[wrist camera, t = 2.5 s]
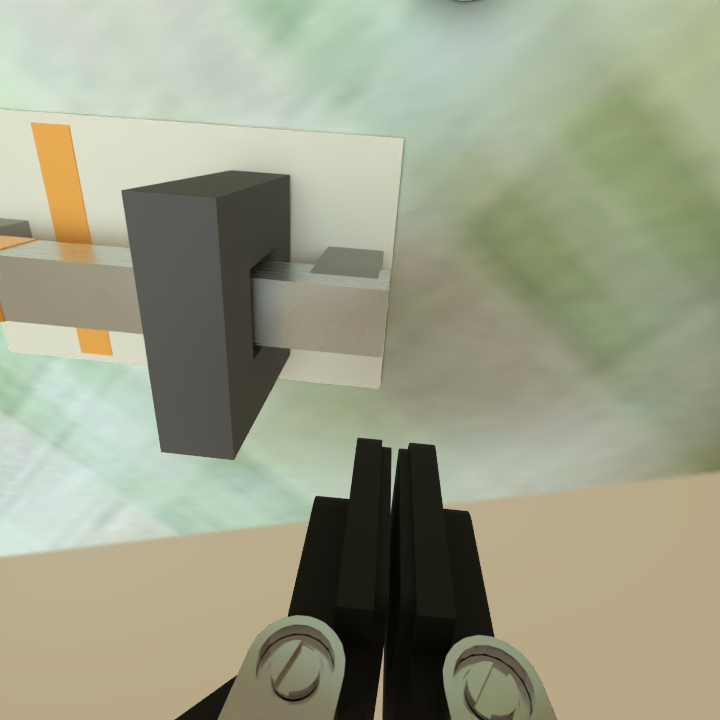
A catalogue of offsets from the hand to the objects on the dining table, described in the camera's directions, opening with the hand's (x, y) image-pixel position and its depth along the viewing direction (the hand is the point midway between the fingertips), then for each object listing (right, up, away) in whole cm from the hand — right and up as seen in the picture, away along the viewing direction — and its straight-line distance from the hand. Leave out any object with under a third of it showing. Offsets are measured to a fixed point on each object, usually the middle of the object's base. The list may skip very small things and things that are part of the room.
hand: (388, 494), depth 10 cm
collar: (-6, +8, +15) cm, 18 cm away
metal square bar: (-11, +7, +12) cm, 18 cm away
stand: (-11, +9, +17) cm, 22 cm away
